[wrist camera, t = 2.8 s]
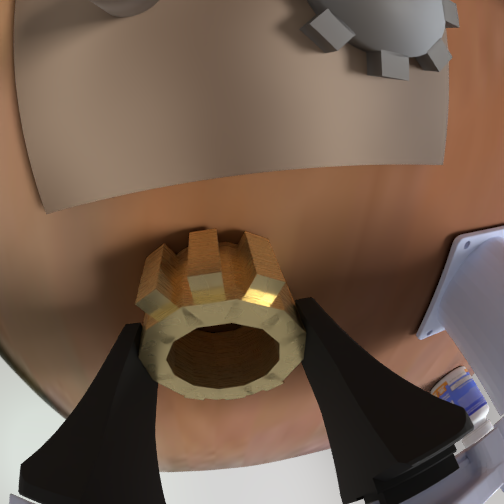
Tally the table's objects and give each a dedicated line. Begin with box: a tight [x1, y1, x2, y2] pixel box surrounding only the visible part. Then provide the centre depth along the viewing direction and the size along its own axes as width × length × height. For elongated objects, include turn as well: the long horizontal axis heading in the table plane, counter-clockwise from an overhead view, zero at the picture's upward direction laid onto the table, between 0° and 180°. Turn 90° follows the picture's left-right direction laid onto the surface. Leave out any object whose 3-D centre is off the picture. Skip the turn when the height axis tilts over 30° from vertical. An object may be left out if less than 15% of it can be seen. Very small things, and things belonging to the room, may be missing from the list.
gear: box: [135, 228, 307, 400], centre depth 10 cm, size 6×7×3 cm
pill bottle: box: [431, 366, 493, 448], centre depth 21 cm, size 5×5×10 cm
